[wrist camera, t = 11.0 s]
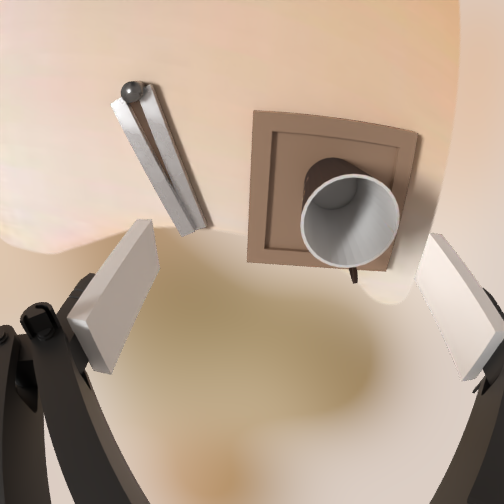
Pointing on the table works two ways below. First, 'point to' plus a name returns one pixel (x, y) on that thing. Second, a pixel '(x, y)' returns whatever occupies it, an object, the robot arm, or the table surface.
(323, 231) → the coffee mug
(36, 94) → the table surface
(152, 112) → the tongs
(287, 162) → the tray
